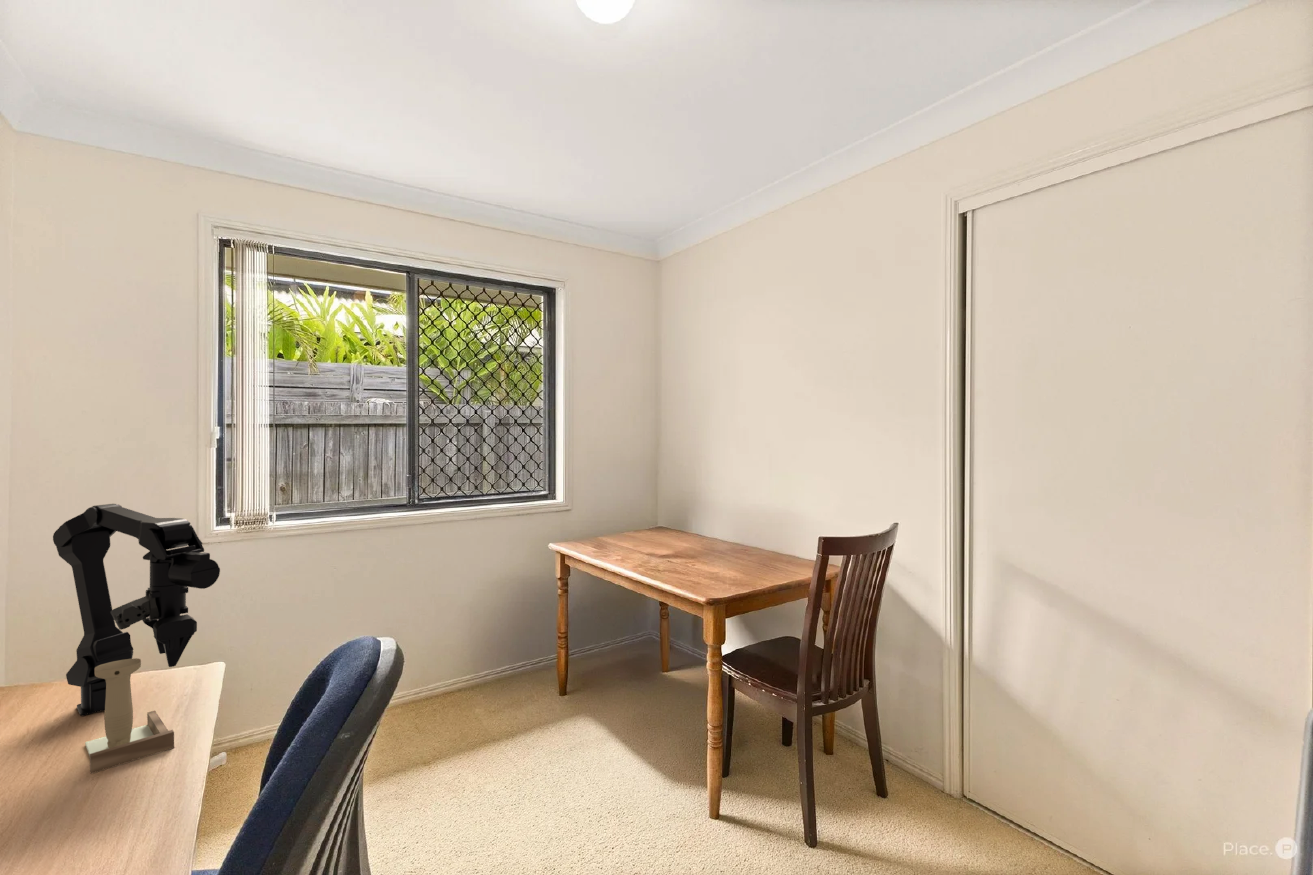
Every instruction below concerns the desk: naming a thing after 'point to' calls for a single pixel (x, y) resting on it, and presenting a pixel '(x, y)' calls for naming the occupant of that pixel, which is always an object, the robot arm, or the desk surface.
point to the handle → (118, 699)
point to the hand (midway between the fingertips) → (167, 659)
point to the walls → (135, 746)
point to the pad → (102, 742)
